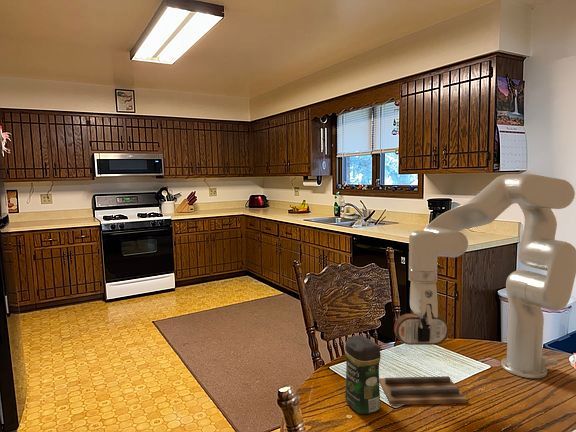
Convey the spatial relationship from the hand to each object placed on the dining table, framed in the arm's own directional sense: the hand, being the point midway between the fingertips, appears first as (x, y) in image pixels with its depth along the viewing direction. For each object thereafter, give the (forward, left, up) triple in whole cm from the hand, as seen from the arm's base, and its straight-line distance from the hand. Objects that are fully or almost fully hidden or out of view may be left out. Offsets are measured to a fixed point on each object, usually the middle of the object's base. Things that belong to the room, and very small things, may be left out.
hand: (421, 338), depth 113 cm
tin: (0, 0, -2) cm, 2 cm away
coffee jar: (+18, +6, -16) cm, 25 cm away
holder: (0, 0, -16) cm, 16 cm away
